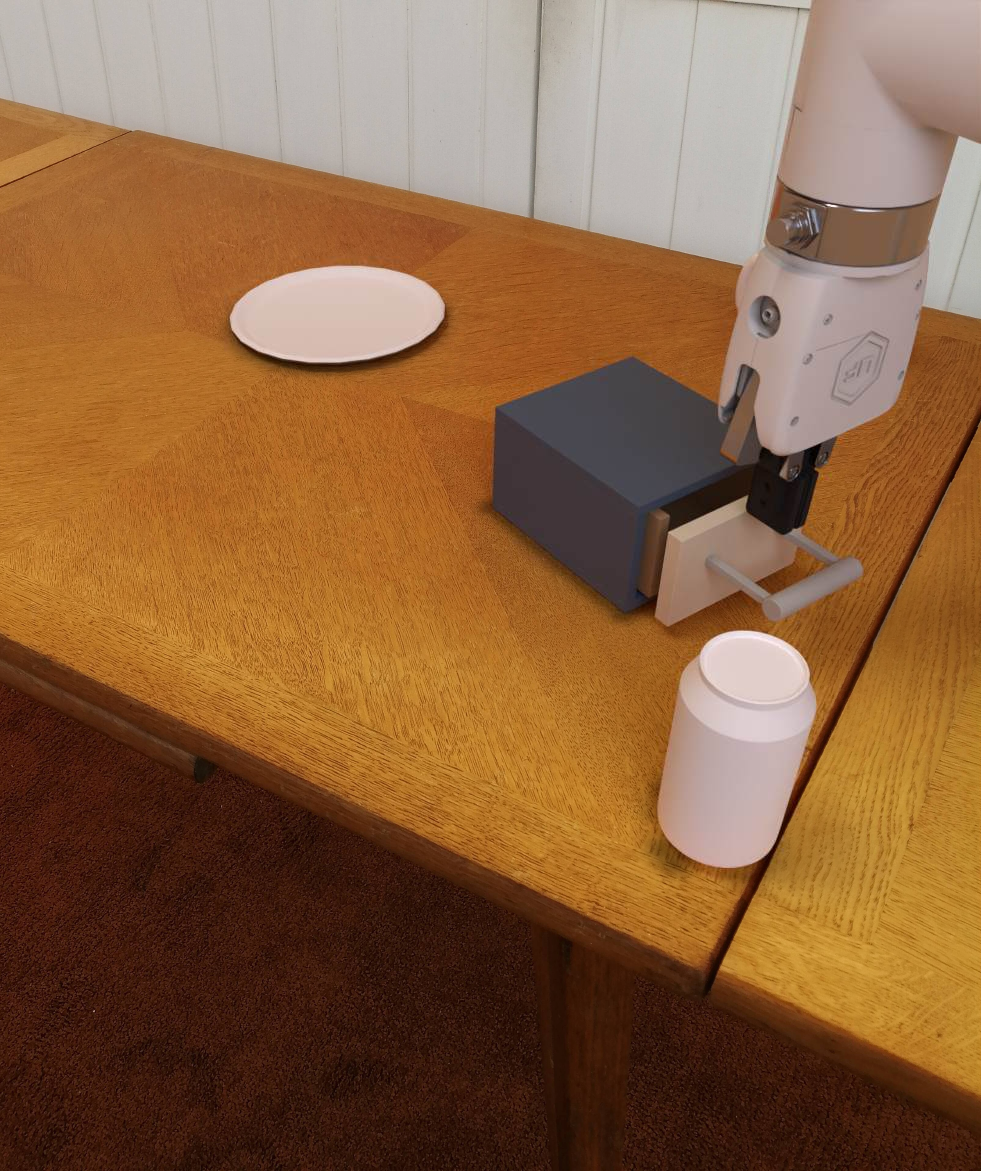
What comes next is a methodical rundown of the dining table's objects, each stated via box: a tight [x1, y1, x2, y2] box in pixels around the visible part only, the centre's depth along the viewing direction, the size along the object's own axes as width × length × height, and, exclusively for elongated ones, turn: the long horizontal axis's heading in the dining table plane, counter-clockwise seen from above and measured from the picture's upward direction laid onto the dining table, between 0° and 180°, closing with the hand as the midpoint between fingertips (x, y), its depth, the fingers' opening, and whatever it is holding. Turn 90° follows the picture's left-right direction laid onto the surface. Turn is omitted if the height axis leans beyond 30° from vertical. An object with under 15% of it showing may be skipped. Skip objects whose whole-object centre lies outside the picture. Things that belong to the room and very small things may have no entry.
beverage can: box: [656, 629, 818, 869], centre depth 54 cm, size 6×6×12 cm
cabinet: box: [492, 356, 755, 614], centre depth 75 cm, size 15×13×9 cm
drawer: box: [637, 465, 864, 628], centre depth 71 cm, size 20×11×7 cm, turn 32°
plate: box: [229, 265, 446, 366], centre depth 105 cm, size 21×21×1 cm
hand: (774, 519), depth 65 cm, fingers closed
